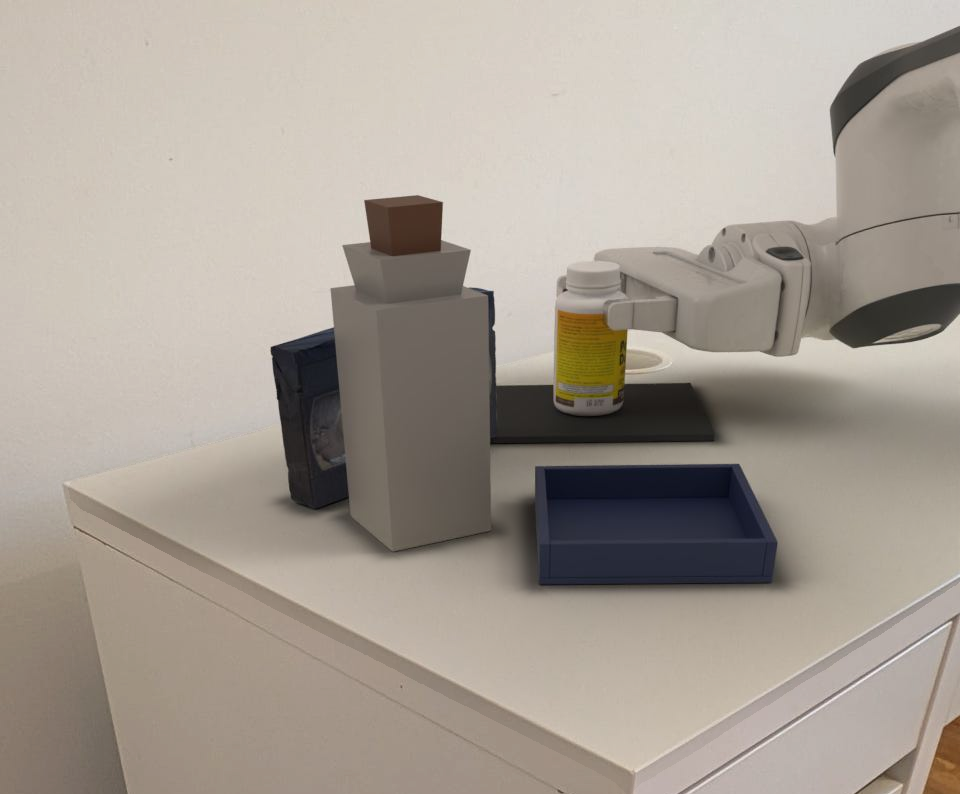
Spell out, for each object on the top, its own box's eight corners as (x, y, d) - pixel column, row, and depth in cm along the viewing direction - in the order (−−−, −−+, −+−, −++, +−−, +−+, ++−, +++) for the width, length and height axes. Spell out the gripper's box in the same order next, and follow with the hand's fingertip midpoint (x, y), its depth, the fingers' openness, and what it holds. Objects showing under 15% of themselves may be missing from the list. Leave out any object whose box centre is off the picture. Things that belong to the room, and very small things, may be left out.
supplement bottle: (628, 417, 88) (637, 271, 82) (557, 420, 88) (560, 274, 82) (617, 397, 93) (624, 257, 86) (549, 399, 92) (551, 259, 86)
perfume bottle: (350, 516, 74) (322, 198, 63) (444, 497, 76) (432, 189, 65) (392, 551, 69) (370, 214, 58) (491, 530, 71) (486, 203, 61)
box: (735, 500, 75) (739, 463, 73) (772, 582, 64) (778, 542, 63) (534, 502, 75) (535, 465, 74) (538, 584, 65) (539, 544, 63)
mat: (690, 388, 96) (690, 382, 96) (714, 440, 85) (714, 434, 84) (477, 391, 96) (477, 385, 96) (472, 443, 85) (472, 437, 85)
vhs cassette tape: (313, 511, 75) (292, 351, 68) (285, 501, 76) (261, 343, 70) (504, 437, 85) (500, 291, 78) (475, 429, 86) (469, 285, 80)
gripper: (691, 222, 95) (535, 233, 92) (822, 265, 79) (639, 281, 76) (685, 304, 99) (534, 318, 95) (808, 361, 83) (633, 380, 80)
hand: (581, 302), depth 86 cm, fingers open, 8 cm apart
